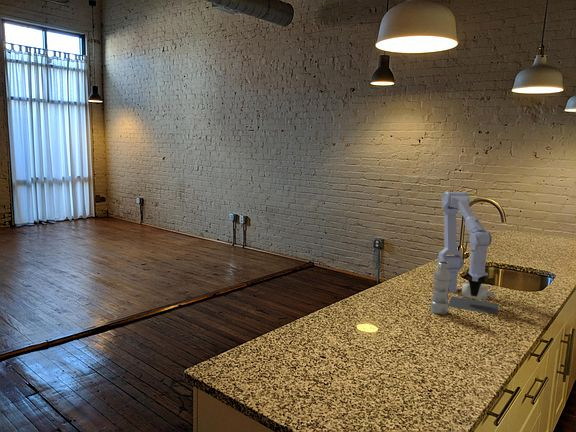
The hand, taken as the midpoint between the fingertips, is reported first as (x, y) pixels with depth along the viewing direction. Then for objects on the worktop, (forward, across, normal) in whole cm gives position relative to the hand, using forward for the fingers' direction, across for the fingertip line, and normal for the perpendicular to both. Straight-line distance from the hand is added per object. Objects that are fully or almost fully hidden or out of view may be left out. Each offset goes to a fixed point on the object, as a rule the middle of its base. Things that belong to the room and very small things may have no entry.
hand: (474, 294), depth 178 cm
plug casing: (+1, 0, -1) cm, 2 cm away
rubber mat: (+5, 0, 0) cm, 5 cm away
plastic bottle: (+5, -16, +11) cm, 20 cm away
